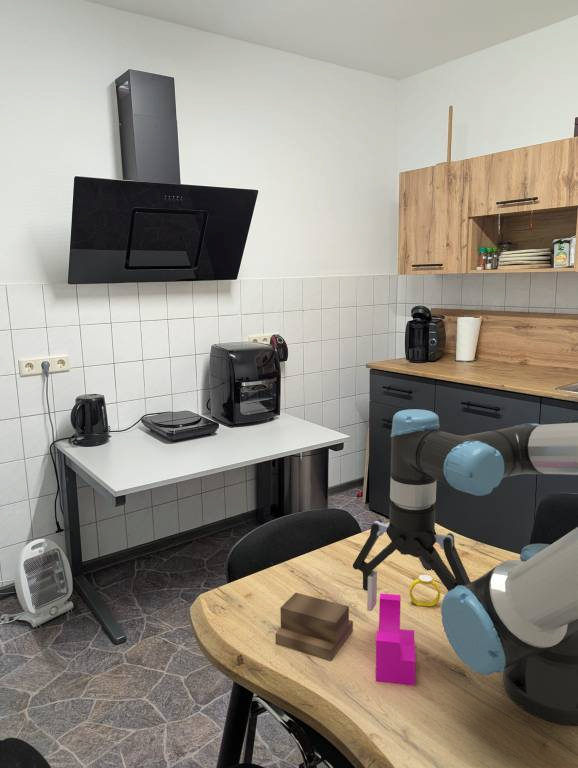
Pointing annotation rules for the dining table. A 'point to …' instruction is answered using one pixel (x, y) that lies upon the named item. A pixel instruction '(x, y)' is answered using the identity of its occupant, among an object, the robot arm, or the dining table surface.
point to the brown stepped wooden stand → (314, 626)
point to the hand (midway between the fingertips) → (408, 617)
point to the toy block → (394, 645)
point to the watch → (425, 580)
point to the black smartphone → (426, 563)
